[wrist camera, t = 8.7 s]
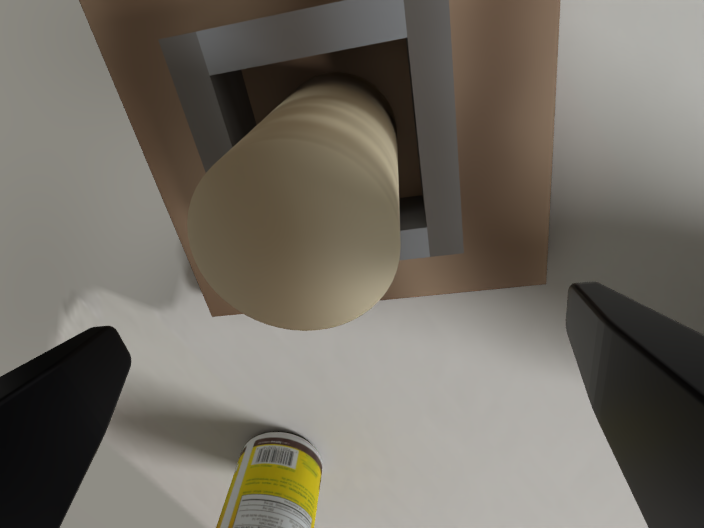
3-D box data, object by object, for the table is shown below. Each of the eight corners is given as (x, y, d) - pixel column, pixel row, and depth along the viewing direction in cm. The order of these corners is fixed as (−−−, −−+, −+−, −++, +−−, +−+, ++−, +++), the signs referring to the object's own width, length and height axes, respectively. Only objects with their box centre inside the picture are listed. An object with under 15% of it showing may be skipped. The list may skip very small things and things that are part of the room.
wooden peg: (388, 61, 15) (383, 121, 8) (403, 181, 18) (412, 320, 10) (266, 84, 16) (152, 160, 8) (296, 197, 18) (227, 339, 11)
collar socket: (553, -194, 13) (621, -276, 9) (536, 266, 21) (569, 326, 17) (75, -69, 16) (-29, -92, 12) (222, 299, 23) (188, 358, 20)
